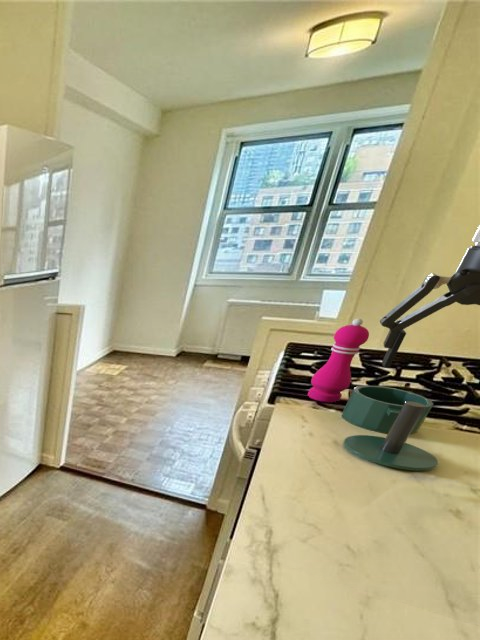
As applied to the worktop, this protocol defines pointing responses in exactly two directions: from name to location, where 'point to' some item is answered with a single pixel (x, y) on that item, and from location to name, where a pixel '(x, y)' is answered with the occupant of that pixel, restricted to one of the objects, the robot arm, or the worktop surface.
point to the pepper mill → (338, 363)
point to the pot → (381, 407)
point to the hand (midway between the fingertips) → (436, 371)
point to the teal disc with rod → (395, 443)
